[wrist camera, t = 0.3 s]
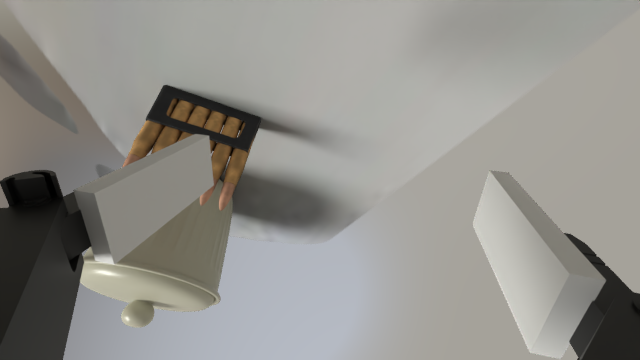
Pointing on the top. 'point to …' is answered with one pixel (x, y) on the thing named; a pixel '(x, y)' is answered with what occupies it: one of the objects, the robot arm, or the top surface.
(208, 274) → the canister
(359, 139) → the top surface
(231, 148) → the ammunition clip
